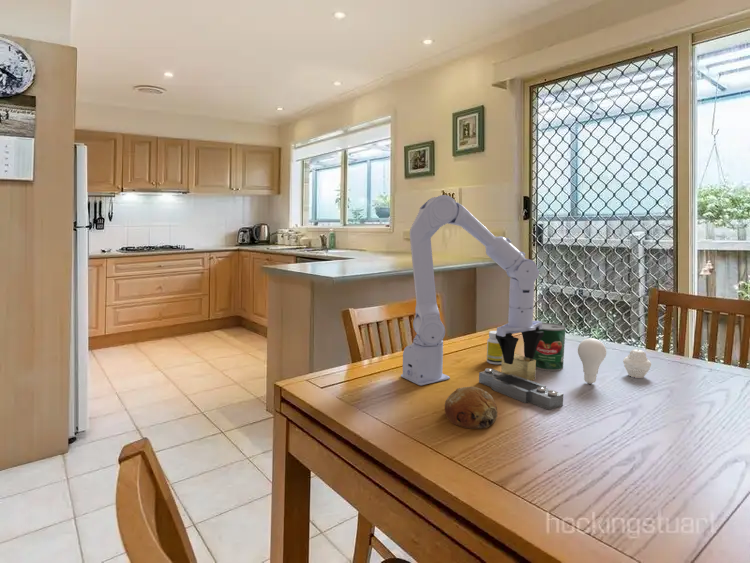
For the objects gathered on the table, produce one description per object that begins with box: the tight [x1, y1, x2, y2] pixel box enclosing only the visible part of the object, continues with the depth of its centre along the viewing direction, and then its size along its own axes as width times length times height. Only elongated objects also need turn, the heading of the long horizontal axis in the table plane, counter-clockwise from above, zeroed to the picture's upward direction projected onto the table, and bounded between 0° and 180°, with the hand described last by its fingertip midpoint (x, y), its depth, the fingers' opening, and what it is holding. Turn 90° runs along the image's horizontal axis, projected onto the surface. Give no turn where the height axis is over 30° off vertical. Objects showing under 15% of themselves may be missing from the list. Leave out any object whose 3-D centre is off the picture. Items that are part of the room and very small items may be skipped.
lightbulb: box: [577, 337, 607, 385], centre depth 109 cm, size 6×6×11 cm
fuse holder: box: [478, 367, 564, 411], centre depth 103 cm, size 7×20×3 cm, turn 33°
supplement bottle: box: [486, 330, 502, 365], centre depth 125 cm, size 5×5×8 cm
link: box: [500, 353, 537, 381], centre depth 114 cm, size 3×8×5 cm, turn 33°
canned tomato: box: [533, 322, 567, 372], centre depth 122 cm, size 8×8×11 cm
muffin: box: [622, 348, 652, 379], centre depth 114 cm, size 6×6×7 cm
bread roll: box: [444, 386, 498, 430], centre depth 89 cm, size 10×10×8 cm
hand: (518, 360), depth 114 cm, fingers open, 7 cm apart
